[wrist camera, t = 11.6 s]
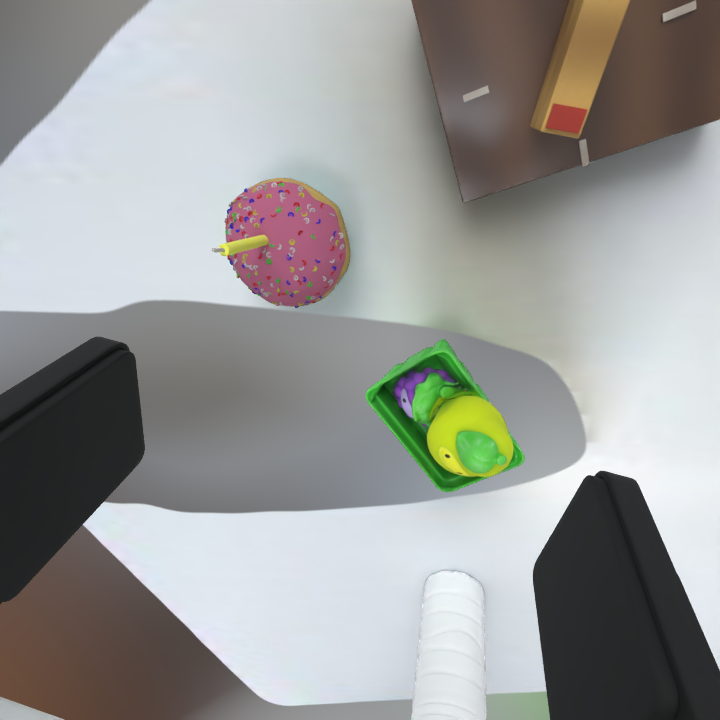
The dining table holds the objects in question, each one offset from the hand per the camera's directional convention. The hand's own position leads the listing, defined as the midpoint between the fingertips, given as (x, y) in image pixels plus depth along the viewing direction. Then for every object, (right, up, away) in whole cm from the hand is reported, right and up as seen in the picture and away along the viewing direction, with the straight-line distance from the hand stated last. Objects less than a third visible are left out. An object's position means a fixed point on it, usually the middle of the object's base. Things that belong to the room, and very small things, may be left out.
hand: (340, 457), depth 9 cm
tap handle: (+11, +18, +14) cm, 26 cm away
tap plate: (+12, +19, +17) cm, 28 cm away
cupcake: (-3, +12, +25) cm, 28 cm away
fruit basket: (+8, 0, +29) cm, 30 cm away
